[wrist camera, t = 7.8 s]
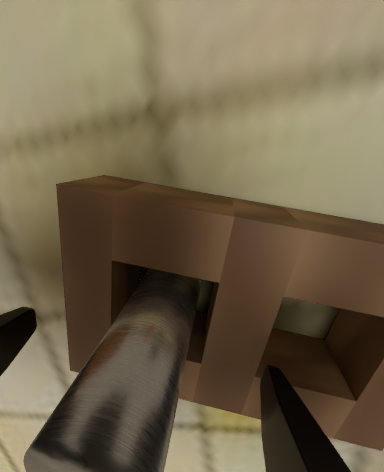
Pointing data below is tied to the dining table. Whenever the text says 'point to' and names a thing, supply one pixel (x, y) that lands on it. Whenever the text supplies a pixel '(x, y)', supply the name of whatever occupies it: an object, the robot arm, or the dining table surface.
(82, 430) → the peg
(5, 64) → the dining table surface
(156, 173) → the dining table surface
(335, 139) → the dining table surface
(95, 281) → the socket block
